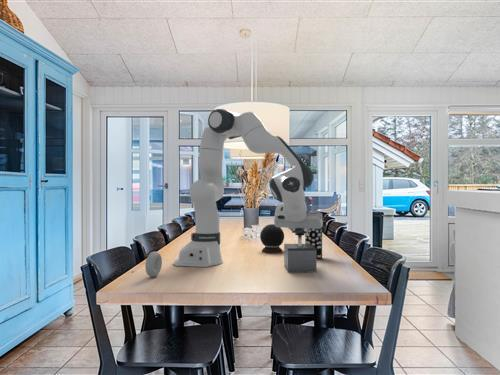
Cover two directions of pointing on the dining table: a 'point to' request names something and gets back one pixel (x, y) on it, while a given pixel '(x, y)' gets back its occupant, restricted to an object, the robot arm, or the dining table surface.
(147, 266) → the grey thick disc
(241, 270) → the dining table surface
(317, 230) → the spotted tube
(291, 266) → the block
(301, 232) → the plunger
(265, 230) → the black ball on stand
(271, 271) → the dining table surface
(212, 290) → the dining table surface
